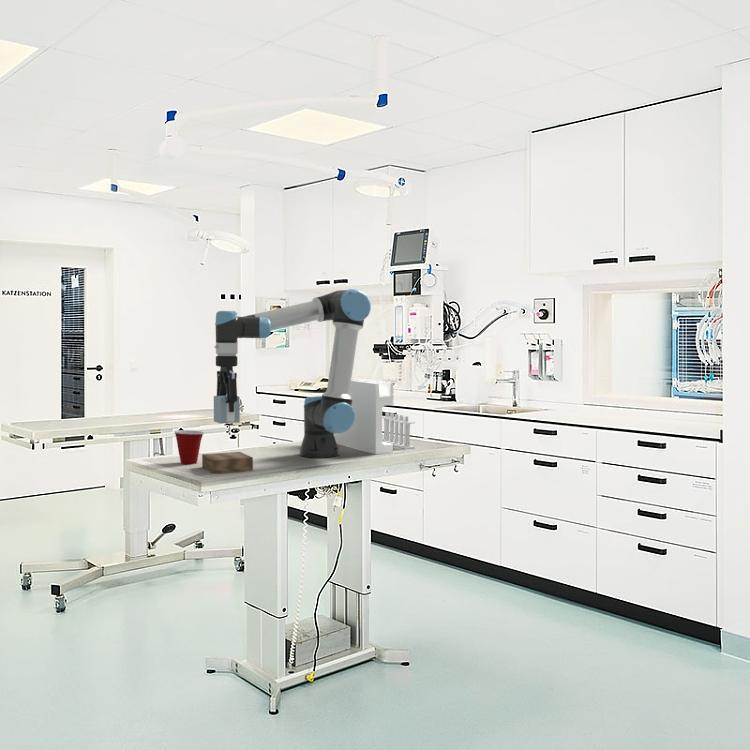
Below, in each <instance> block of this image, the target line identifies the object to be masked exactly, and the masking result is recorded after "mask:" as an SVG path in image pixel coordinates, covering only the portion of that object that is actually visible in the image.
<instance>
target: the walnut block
mask: <svg viewBox="0 0 750 750" xmlns="http://www.w3.org/2000/svg"><path fill="white" fill-rule="evenodd" d="M201 459H202V462H201V463H202V464H201V465H202V466H201V468H203V469H205V470H206V471H208V472H209V473H212V474H213V475H215V474H216V475H218V474H226V473H240V472H251V471H252V472H253V471H254V458H253V456H250V455H248V454H246V453H243V452H242V451H233V452H232V451H231V452H220V453H219V452H217V453H205V454H201Z"/></svg>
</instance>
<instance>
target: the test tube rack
mask: <svg viewBox="0 0 750 750" xmlns="http://www.w3.org/2000/svg"><path fill="white" fill-rule="evenodd" d="M384 414H385V416H383V415H382V419H383V422H384V423H383V426H384V427H383V438H382V442H386V443H390V444H393V447H396V448H400V449H404V450H413V449H416V447H415V446H413V445H411V444H410V437H411V433H410V431H411V429H410V428H411V424H416V422H415V421H414V422H413V421H411V420H409V416H407V415H405V416H404V415H403V414H398V413H393V412H389V411H386V412H385V413H384Z"/></svg>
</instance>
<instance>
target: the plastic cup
mask: <svg viewBox="0 0 750 750" xmlns="http://www.w3.org/2000/svg"><path fill="white" fill-rule="evenodd" d="M173 432H174V434H175V438H176V444H177V450H178V455H179V460H180V463H181V465H194V464H197V463H198V460H199V459H198V458H199V453H200V448H201V443H202V442H201V441H202V440H203V439H202V438H203V435H204V434H205V432H204V431H201V430H192V429H191V430H190V429H189V430H187V429H186V430H185V429H183V430H181V429H178V430H174V431H173Z"/></svg>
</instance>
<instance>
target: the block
mask: <svg viewBox="0 0 750 750" xmlns="http://www.w3.org/2000/svg"><path fill="white" fill-rule="evenodd" d="M394 385H395V384H394V382H389V381H388V382H386V381H381V380H369V379H364V378H363V379H362V378H355V377H354V378H353V377H352V378H351V385H350V392H349V395H350V396H351V397H352V406H351V407H352V408H353V410H354V412H355V420H354V423H353V425H352V426H351V428H350V429H348V430H347V431H346V432H343V433H334V437H335V440H336V443H337V445H338V446H343V447H346V448H351V449H354V450H359V451H362V452H365V453H367V454H368V453H369V454H372V455H377V456H378V455H386V454H393V453H394V446H393V444H390V443H386V442H382V440H383V418H382V416H383V409H384V407H386V406H394V390H395V389H394Z"/></svg>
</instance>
